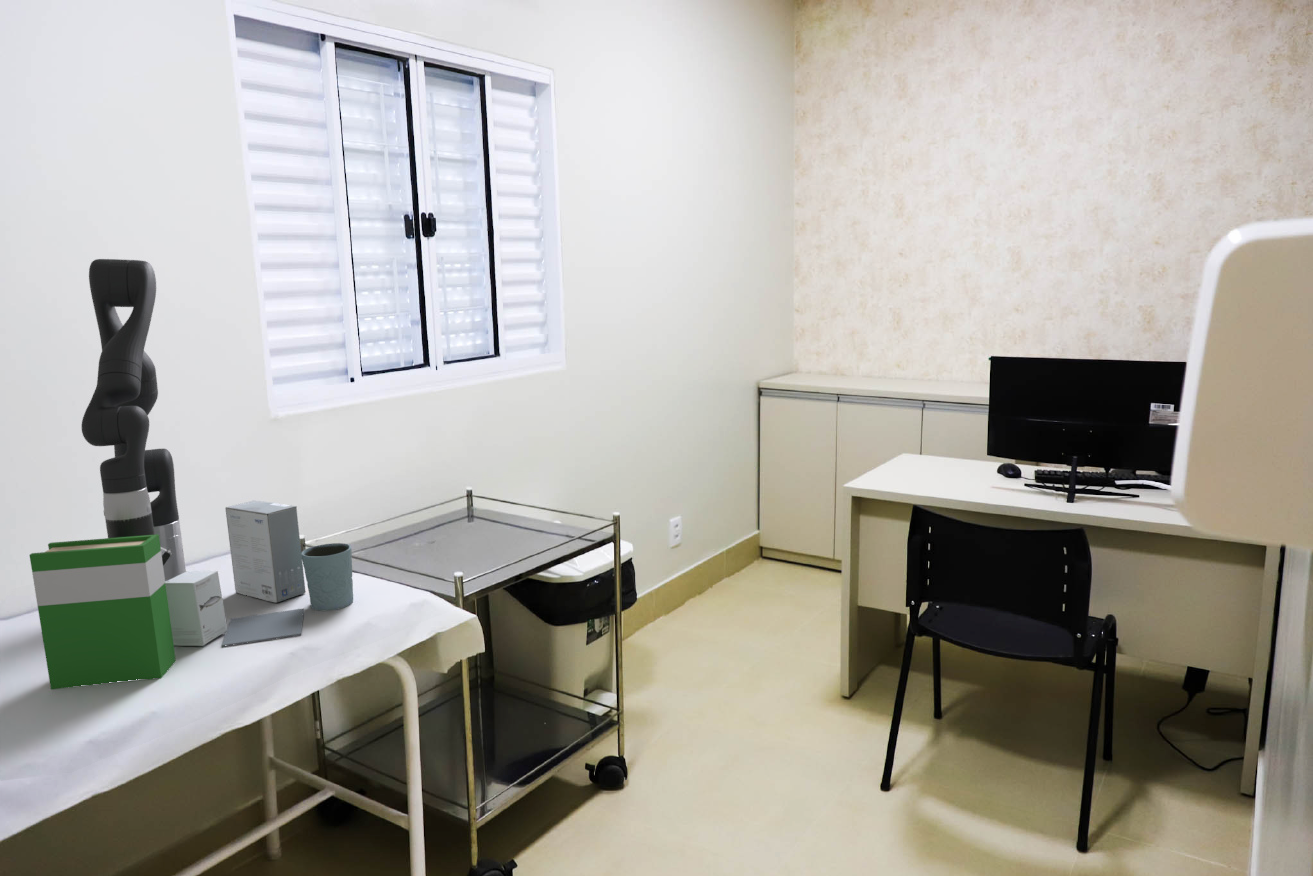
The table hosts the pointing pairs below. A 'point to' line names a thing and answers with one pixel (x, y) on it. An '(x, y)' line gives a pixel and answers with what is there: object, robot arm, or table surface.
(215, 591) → the supplement box
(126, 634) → the hardback book
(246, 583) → the hard drive box
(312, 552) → the blue-grey plant pot
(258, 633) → the mat
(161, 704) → the table surface
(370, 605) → the table surface
